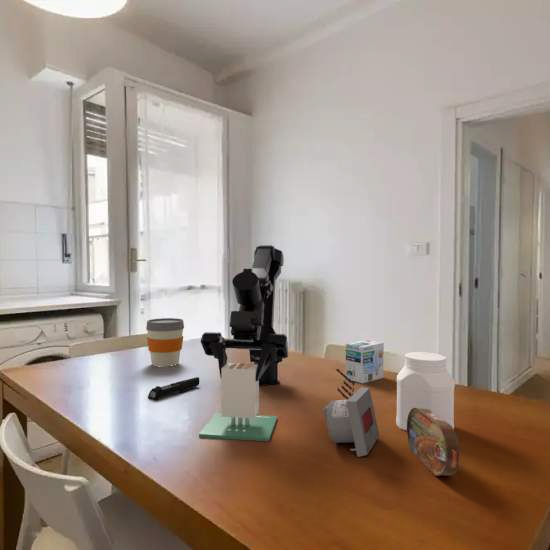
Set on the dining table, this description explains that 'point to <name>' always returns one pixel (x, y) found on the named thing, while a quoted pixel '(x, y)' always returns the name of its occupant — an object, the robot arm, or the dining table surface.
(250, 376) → the plug block
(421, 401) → the jar
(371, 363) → the light bulb box
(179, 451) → the dining table surface
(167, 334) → the reusable coffee cup
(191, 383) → the electric trimmer
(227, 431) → the header board
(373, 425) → the voltmeter
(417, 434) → the tin
